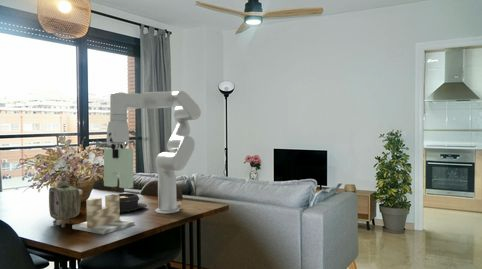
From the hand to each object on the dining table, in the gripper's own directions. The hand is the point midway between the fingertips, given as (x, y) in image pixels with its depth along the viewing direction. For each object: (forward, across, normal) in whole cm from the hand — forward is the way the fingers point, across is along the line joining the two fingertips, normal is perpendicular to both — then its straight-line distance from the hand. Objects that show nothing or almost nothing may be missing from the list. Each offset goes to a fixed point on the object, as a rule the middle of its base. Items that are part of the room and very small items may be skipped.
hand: (118, 157), depth 182 cm
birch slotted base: (+31, +7, -1) cm, 32 cm away
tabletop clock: (+31, +13, -20) cm, 40 cm away
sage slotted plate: (+14, 0, 0) cm, 14 cm away
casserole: (+31, -21, -18) cm, 41 cm away
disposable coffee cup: (+31, -5, -38) cm, 49 cm away
